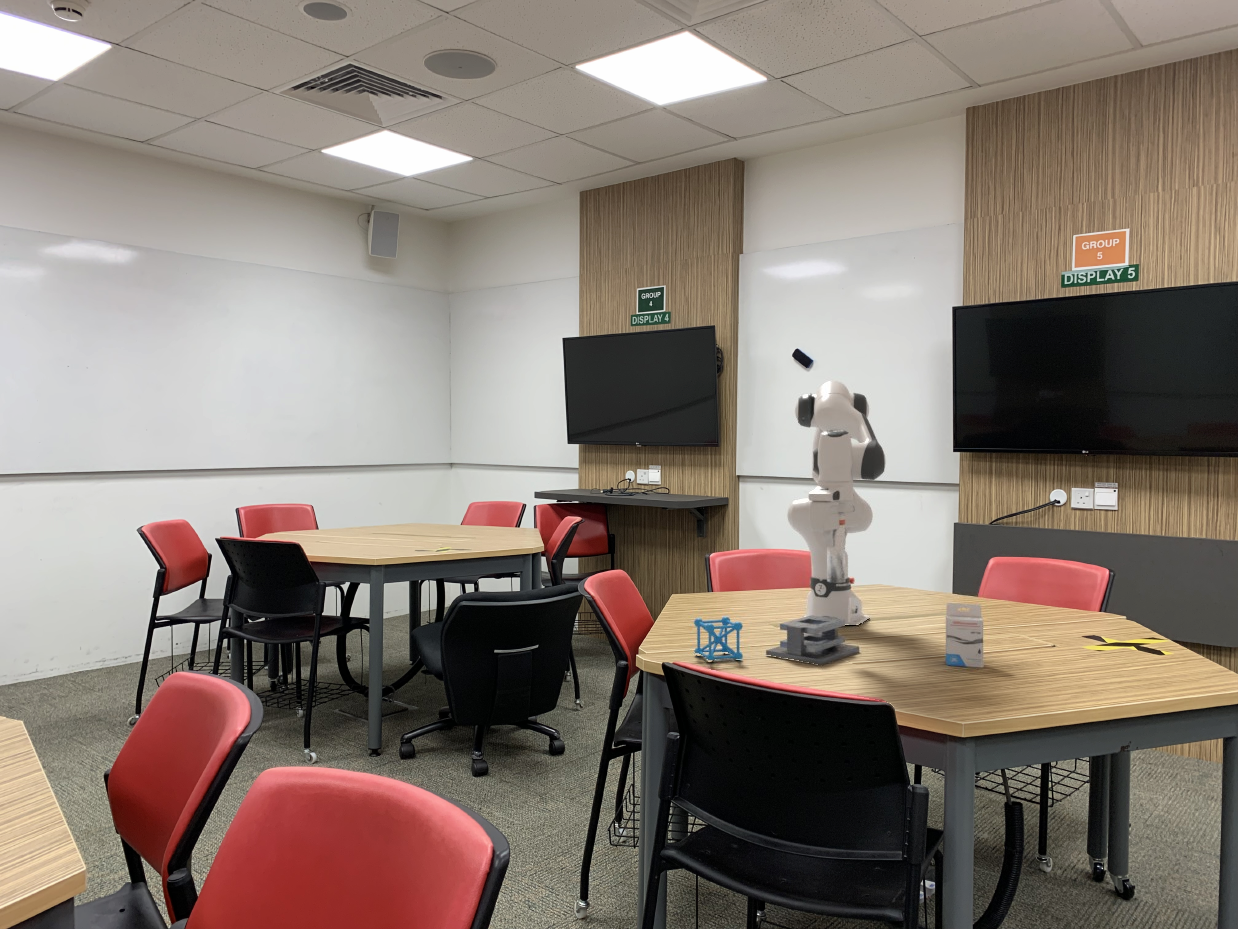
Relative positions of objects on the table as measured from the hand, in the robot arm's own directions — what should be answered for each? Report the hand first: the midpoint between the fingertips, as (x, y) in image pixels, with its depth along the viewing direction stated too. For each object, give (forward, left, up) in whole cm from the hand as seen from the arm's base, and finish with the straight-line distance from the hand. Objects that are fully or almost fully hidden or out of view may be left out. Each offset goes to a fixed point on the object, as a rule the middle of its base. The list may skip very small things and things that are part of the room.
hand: (835, 546), depth 221 cm
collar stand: (+1, -6, -29) cm, 29 cm away
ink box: (-13, +28, -29) cm, 42 cm away
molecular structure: (+21, -22, -29) cm, 42 cm away
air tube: (0, 0, -9) cm, 9 cm away
